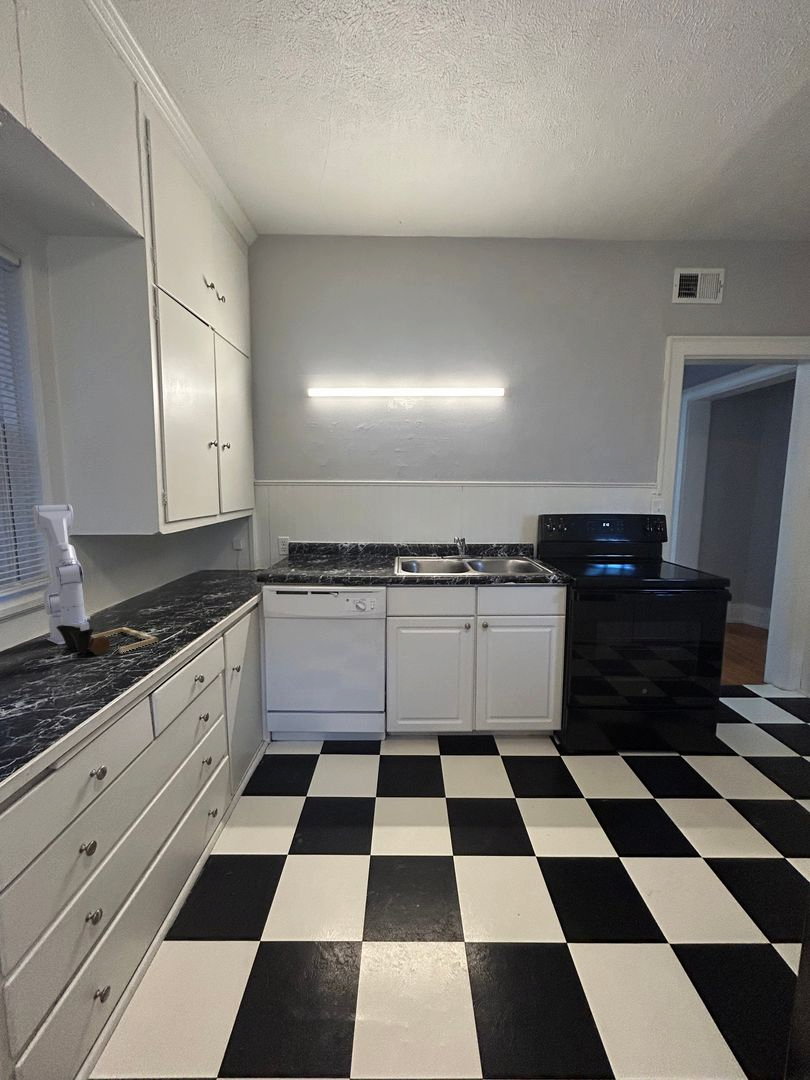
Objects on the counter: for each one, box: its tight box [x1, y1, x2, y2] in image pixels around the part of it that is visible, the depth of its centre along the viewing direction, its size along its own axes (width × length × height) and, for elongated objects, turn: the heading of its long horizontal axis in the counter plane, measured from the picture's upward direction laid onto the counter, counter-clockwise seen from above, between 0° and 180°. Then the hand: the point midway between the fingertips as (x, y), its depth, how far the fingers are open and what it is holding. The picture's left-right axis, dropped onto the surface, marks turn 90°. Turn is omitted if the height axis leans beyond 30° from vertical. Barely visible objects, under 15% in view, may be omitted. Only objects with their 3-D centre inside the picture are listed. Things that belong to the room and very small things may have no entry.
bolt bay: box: [91, 626, 159, 654], centre depth 151 cm, size 21×11×2 cm, turn 56°
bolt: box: [88, 636, 112, 656], centre depth 145 cm, size 6×5×15 cm
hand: (77, 649), depth 141 cm, fingers open, 7 cm apart
